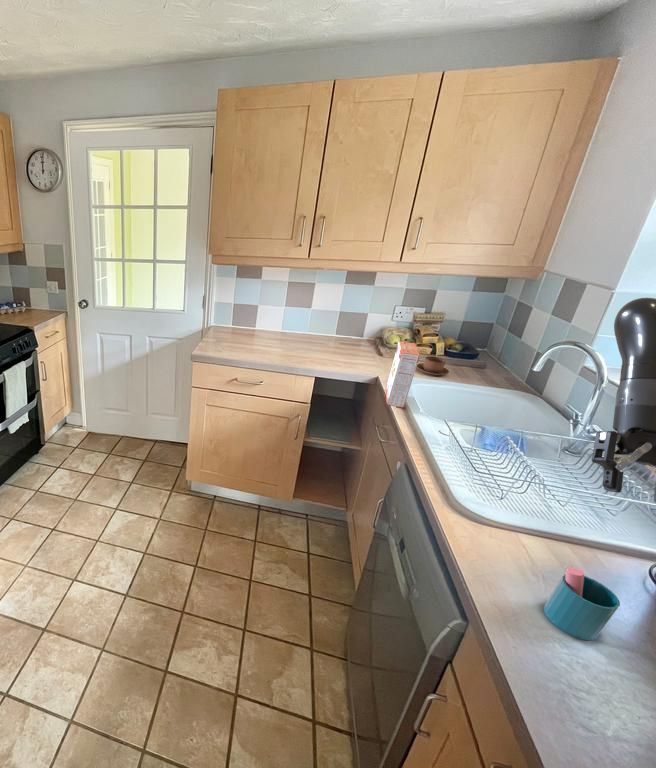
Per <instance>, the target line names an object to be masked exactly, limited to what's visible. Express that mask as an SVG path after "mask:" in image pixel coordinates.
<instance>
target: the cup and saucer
mask: <svg viewBox="0 0 656 768" xmlns="http://www.w3.org/2000/svg"><path fill="white" fill-rule="evenodd" d="M445 364H446V360H445V358H442V357H438V356H426V357H425V358H424V362H422V363H421V362H420V363H417V366H416V369H418V370H419V371H420V372H421V373H425V374H427V375H431V376H447V375H448V374H449V373H450V370H449V369H447V368H446V367H445Z"/></svg>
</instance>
